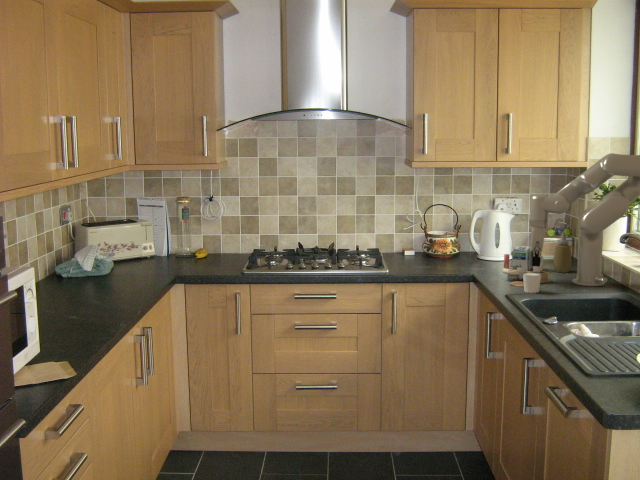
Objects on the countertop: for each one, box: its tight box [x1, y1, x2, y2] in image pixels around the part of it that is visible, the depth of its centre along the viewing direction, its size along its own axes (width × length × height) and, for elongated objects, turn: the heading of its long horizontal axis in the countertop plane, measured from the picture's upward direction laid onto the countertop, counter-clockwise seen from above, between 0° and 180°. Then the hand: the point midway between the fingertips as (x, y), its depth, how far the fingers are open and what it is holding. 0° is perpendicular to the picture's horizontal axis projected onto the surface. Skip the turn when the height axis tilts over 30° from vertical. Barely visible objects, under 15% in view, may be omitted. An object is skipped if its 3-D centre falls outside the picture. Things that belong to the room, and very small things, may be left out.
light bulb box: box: [512, 245, 532, 273], centre depth 330 cm, size 11×7×11 cm, turn 155°
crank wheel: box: [502, 253, 525, 275], centre depth 308 cm, size 9×9×8 cm
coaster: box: [509, 280, 524, 288], centre depth 299 cm, size 9×9×1 cm
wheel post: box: [506, 274, 521, 282], centre depth 309 cm, size 5×5×3 cm
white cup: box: [522, 273, 541, 294], centre depth 287 cm, size 7×7×7 cm
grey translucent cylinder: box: [532, 255, 544, 273], centre depth 305 cm, size 4×4×11 cm
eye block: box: [526, 270, 551, 284], centre depth 306 cm, size 7×7×4 cm
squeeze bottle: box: [553, 231, 573, 274], centre depth 325 cm, size 8×8×18 cm
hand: (536, 264), depth 305 cm, fingers open, 9 cm apart
